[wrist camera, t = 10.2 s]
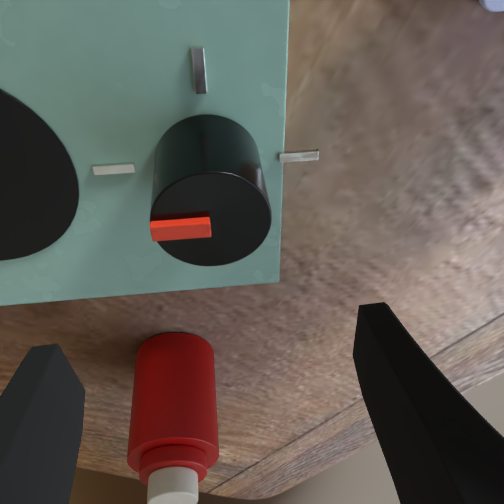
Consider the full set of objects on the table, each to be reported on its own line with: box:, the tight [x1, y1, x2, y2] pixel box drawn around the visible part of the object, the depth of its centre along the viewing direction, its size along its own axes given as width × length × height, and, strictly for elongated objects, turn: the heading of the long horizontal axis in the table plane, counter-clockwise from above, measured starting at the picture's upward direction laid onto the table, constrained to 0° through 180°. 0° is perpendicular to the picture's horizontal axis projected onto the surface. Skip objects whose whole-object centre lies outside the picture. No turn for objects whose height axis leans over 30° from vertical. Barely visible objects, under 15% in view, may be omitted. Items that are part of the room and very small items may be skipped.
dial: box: [150, 114, 272, 266], centre depth 15 cm, size 4×4×4 cm
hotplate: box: [0, 0, 319, 306], centre depth 17 cm, size 16×13×2 cm
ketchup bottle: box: [127, 332, 219, 504], centre depth 24 cm, size 4×4×8 cm
